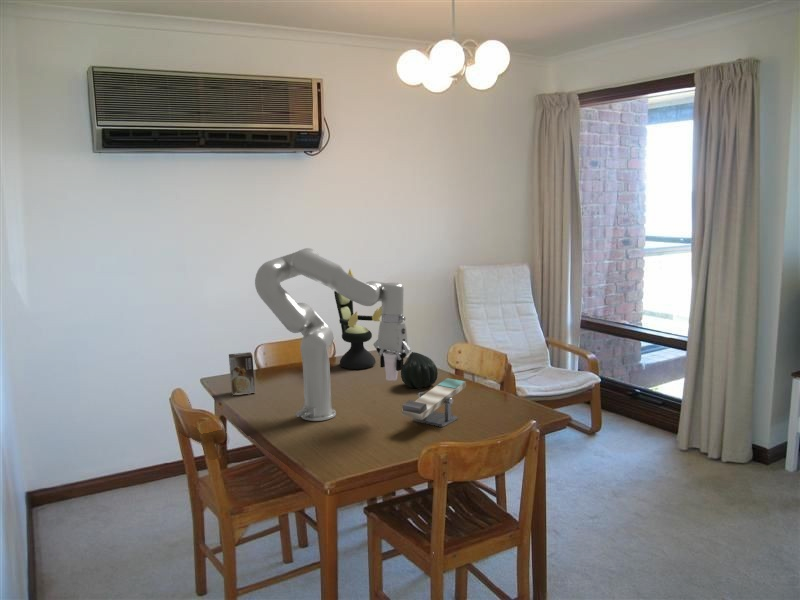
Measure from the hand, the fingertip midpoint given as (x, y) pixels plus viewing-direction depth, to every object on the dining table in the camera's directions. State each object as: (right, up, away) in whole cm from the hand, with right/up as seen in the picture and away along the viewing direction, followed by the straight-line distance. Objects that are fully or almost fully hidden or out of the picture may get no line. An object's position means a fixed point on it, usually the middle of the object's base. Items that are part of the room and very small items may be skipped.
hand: (391, 367), depth 234 cm
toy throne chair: (-19, -7, +75) cm, 78 cm away
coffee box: (-61, -14, +35) cm, 71 cm away
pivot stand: (+15, -18, -1) cm, 24 cm away
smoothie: (0, -4, +1) cm, 4 cm away
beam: (+15, -10, -3) cm, 19 cm away
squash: (+11, -12, +40) cm, 43 cm away
